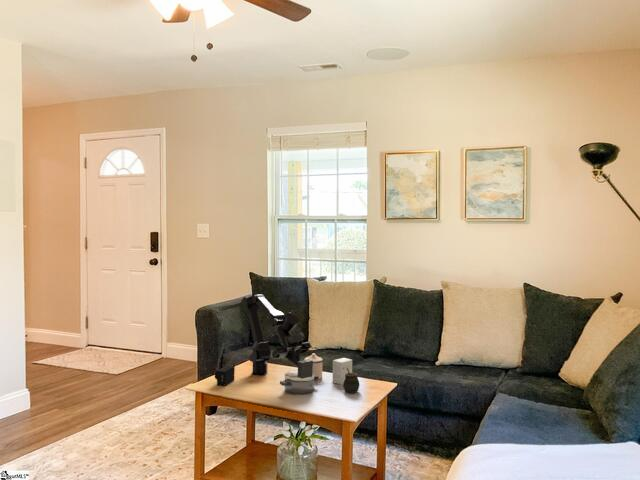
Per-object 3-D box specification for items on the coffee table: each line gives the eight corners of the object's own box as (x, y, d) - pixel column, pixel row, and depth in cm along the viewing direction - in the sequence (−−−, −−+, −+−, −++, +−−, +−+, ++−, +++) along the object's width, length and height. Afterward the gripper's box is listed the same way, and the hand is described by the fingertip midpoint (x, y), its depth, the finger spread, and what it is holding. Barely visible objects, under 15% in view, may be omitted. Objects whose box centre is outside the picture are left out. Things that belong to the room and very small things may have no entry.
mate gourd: (350, 395, 239) (350, 372, 238) (339, 391, 245) (339, 369, 244) (362, 392, 243) (362, 370, 243) (351, 388, 249) (351, 366, 249)
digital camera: (223, 379, 260) (224, 364, 260) (234, 380, 258) (234, 365, 258) (214, 385, 250) (214, 370, 249) (225, 386, 248) (225, 371, 248)
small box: (343, 379, 263) (344, 357, 263) (352, 381, 259) (352, 359, 259) (332, 382, 258) (332, 360, 257) (340, 384, 254) (341, 362, 253)
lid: (279, 376, 246) (279, 358, 245) (302, 371, 254) (302, 354, 254) (296, 383, 235) (296, 364, 235) (320, 378, 244) (320, 360, 243)
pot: (273, 390, 244) (274, 378, 244) (306, 382, 256) (307, 371, 256) (291, 397, 234) (291, 385, 234) (324, 389, 246) (324, 377, 246)
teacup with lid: (326, 377, 266) (326, 353, 266) (315, 381, 258) (315, 357, 258) (306, 372, 273) (306, 349, 272) (295, 377, 265) (295, 353, 265)
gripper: (276, 329, 242) (290, 359, 234) (309, 324, 254) (323, 353, 246) (266, 343, 249) (279, 373, 241) (298, 338, 261) (312, 366, 253)
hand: (299, 366), depth 245 cm, fingers closed
